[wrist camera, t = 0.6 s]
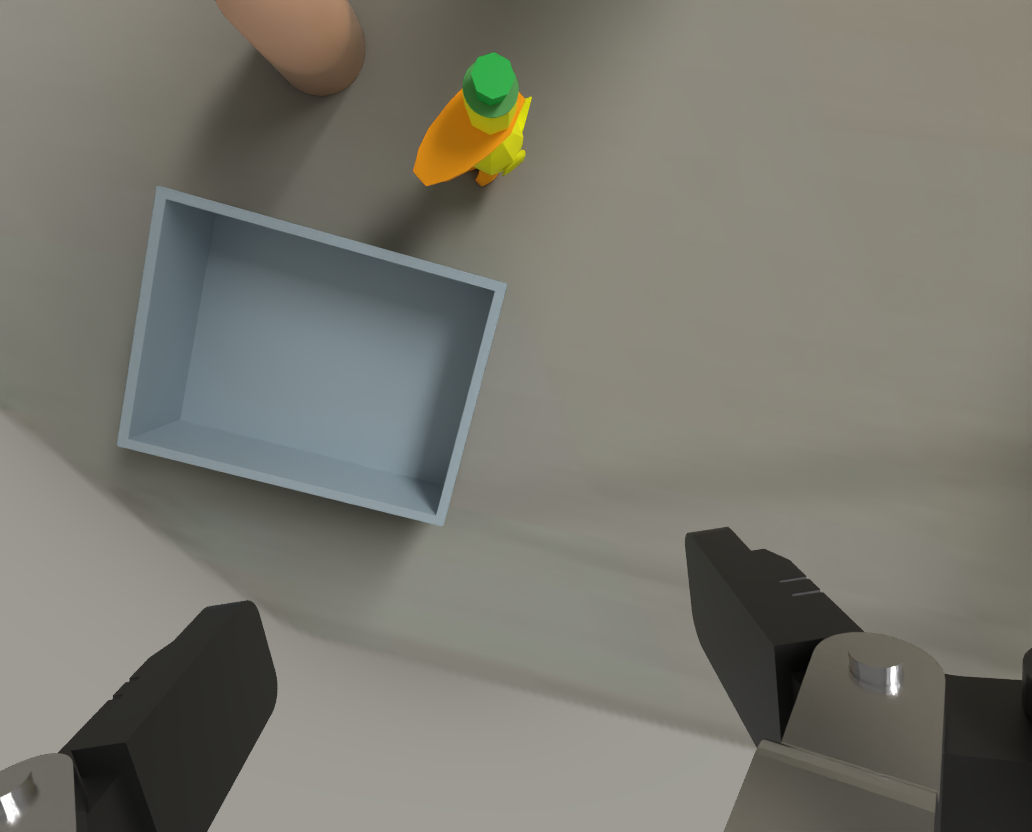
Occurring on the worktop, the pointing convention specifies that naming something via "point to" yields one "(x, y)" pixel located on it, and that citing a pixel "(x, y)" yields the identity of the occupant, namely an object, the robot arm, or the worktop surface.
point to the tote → (305, 358)
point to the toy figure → (477, 127)
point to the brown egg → (303, 39)
